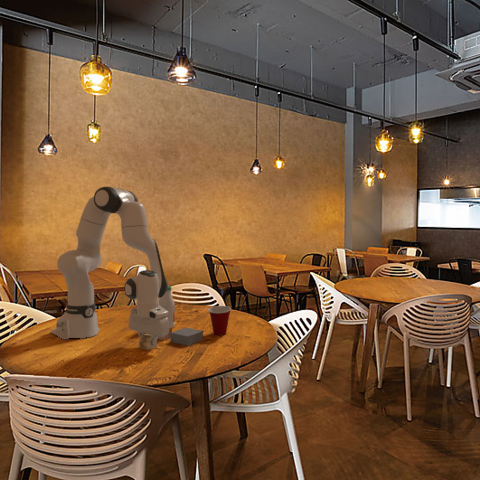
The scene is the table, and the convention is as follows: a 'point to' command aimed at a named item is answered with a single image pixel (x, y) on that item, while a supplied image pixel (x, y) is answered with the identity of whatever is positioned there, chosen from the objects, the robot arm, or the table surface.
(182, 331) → the slate base
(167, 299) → the milk bottle
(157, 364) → the table surface
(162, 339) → the terracotta cube
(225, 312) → the plastic cup
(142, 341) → the maple cube
